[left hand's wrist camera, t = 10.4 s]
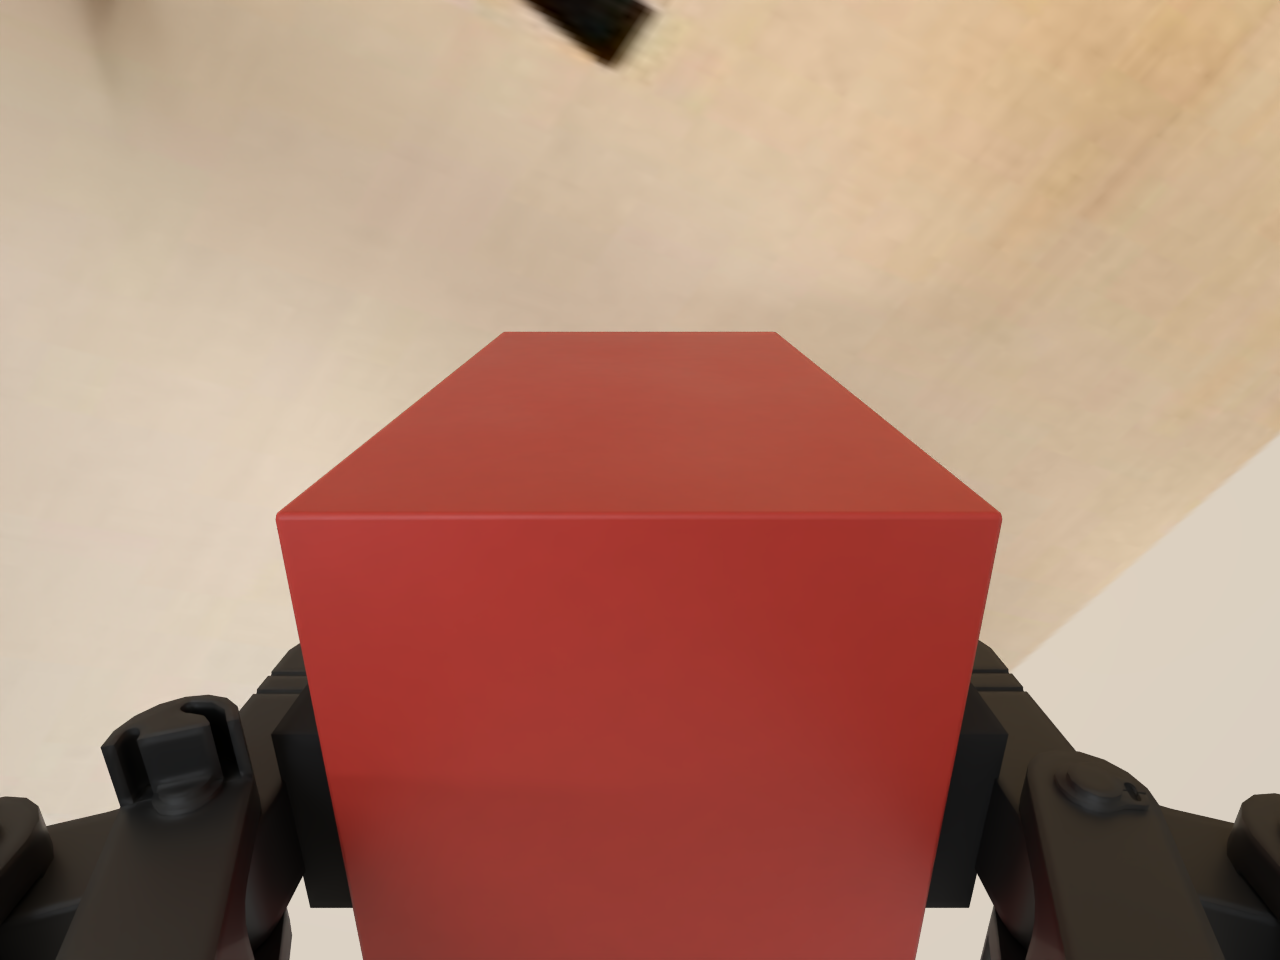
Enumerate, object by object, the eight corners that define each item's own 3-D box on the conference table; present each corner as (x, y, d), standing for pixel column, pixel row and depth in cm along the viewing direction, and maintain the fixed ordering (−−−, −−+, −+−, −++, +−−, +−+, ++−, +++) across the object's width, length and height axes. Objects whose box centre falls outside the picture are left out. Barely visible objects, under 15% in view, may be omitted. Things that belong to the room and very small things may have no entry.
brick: (776, 331, 17) (1006, 514, 6) (756, 628, 20) (890, 1094, 9) (502, 331, 17) (271, 514, 6) (522, 627, 20) (387, 1093, 9)
